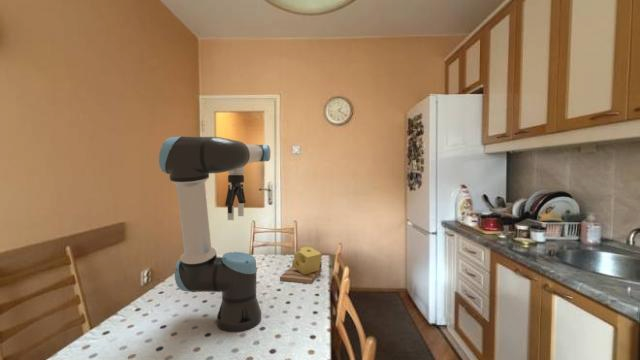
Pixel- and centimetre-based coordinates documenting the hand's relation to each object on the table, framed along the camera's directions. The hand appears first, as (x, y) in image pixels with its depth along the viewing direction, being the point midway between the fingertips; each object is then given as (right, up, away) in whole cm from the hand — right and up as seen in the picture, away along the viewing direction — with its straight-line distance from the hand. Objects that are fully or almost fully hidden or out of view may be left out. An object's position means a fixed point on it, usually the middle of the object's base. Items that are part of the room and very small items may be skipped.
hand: (236, 218), depth 141 cm
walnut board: (+32, -31, +8) cm, 45 cm away
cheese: (+34, -28, +9) cm, 44 cm away
